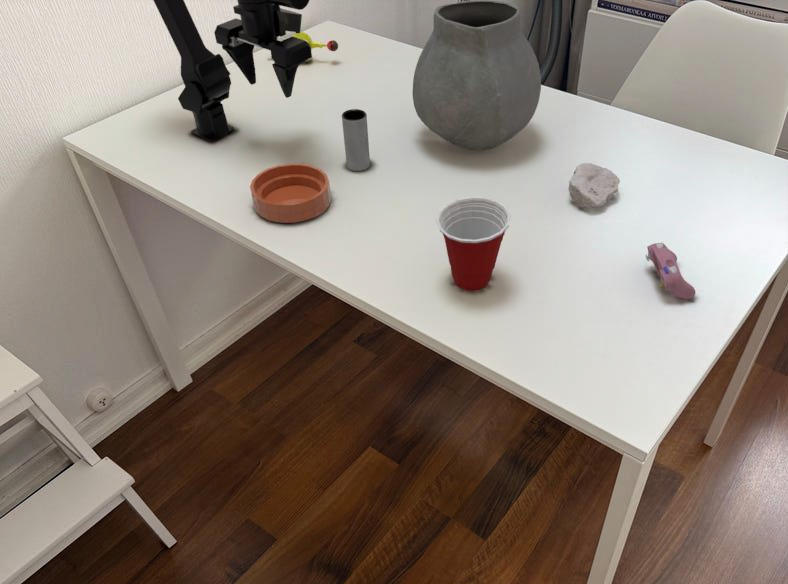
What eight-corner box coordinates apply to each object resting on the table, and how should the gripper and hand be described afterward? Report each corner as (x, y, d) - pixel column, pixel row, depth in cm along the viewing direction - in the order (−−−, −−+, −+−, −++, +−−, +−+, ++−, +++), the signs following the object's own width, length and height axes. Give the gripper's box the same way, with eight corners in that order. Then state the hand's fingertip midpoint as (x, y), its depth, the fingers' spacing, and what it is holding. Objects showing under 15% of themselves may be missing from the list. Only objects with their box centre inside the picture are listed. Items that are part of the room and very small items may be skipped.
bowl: (238, 207, 120) (234, 187, 117) (292, 175, 127) (289, 155, 124) (293, 234, 114) (289, 214, 111) (346, 198, 122) (344, 179, 119)
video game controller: (649, 270, 110) (638, 240, 105) (676, 259, 108) (667, 227, 104) (668, 310, 103) (658, 280, 98) (698, 299, 102) (689, 267, 97)
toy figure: (264, 64, 163) (259, 35, 158) (272, 55, 167) (267, 26, 162) (336, 69, 161) (333, 39, 156) (342, 59, 164) (339, 31, 160)
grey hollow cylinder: (372, 169, 129) (369, 118, 121) (349, 173, 128) (344, 121, 120) (367, 157, 132) (363, 107, 124) (344, 161, 131) (339, 110, 123)
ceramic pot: (496, 103, 148) (506, -22, 130) (556, 153, 133) (576, 20, 115) (395, 125, 141) (390, -3, 123) (446, 181, 126) (449, 43, 108)
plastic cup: (425, 268, 107) (424, 204, 99) (485, 252, 110) (489, 189, 102) (453, 310, 101) (455, 245, 92) (516, 291, 104) (524, 227, 95)
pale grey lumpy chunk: (627, 175, 122) (616, 180, 113) (613, 209, 125) (601, 216, 116) (582, 159, 124) (568, 162, 116) (570, 193, 127) (555, 199, 119)
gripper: (328, -4, 113) (337, 88, 124) (252, -25, 120) (267, 63, 132) (280, 15, 106) (295, 110, 118) (203, -8, 114) (223, 82, 125)
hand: (270, 90), depth 123 cm, fingers open, 9 cm apart
